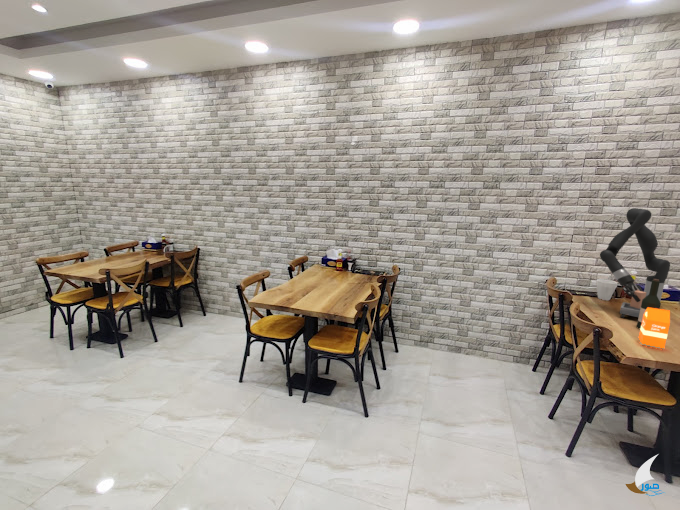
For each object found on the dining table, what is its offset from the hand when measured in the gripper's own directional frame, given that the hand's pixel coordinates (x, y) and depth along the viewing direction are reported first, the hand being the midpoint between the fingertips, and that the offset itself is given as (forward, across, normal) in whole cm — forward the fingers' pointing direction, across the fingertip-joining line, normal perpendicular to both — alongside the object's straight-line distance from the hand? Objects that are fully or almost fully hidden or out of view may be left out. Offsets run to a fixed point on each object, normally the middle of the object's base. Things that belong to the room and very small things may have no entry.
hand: (641, 300), depth 202 cm
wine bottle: (+16, -13, +1) cm, 21 cm away
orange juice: (+26, -34, -8) cm, 44 cm away
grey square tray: (+7, 0, +10) cm, 12 cm away
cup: (-14, +21, +32) cm, 41 cm away
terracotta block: (+2, 0, +5) cm, 5 cm away
